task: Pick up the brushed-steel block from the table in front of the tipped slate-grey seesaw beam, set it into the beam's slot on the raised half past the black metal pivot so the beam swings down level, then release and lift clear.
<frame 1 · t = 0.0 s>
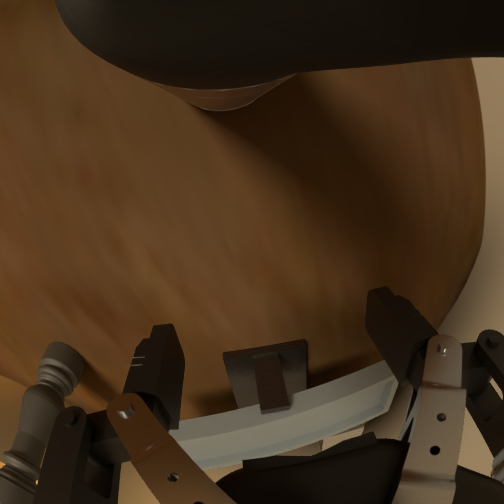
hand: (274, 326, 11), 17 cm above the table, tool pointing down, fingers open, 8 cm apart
beam: (279, 428, 29), point 9 cm above the table, hinge at -8.0°
candle holder: (66, 356, 34), on the table
pivot stand: (268, 376, 37), on the table
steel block: (328, 402, 42), on the table
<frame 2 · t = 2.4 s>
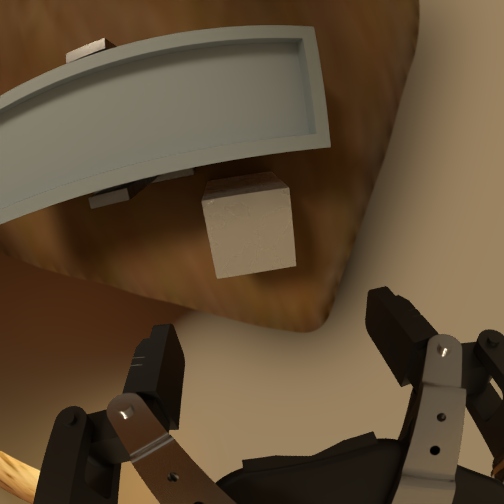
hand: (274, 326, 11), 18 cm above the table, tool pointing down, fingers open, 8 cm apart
beam: (99, 120, 16), point 9 cm above the table, hinge at -8.0°
pivot stand: (133, 122, 24), on the table
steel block: (243, 206, 28), on the table
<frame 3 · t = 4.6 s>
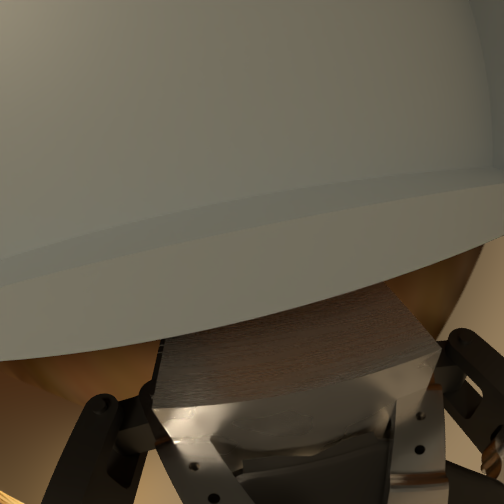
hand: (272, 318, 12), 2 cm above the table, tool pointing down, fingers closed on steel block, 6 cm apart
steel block: (267, 297, 13), on the table, touching gripper
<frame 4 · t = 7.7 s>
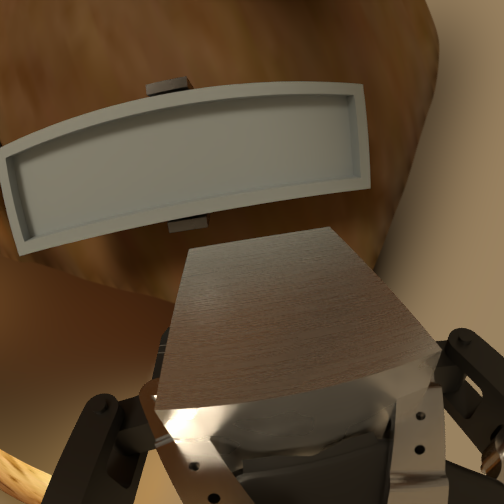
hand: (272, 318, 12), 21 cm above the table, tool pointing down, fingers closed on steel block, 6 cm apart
beam: (179, 154, 20), point 9 cm above the table, hinge at -8.0°
pivot stand: (190, 150, 28), on the table
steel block: (268, 298, 13), point 19 cm above the table, touching gripper
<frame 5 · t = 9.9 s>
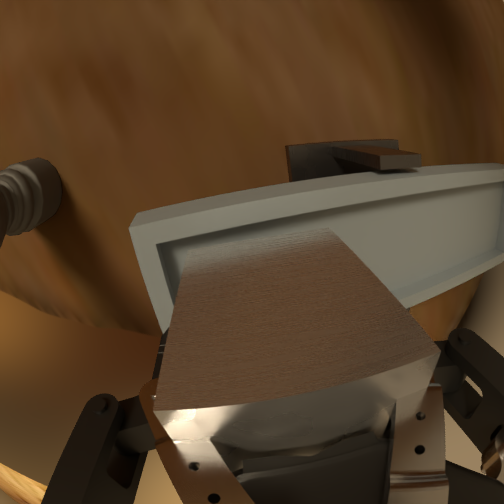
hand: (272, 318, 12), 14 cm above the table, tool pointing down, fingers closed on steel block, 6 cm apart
beam: (398, 242, 17), point 9 cm above the table, hinge at -8.0°
candle holder: (38, 189, 22), on the table
pivot stand: (346, 207, 25), on the table
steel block: (267, 298, 13), point 12 cm above the table, touching gripper
when the fingers open (13 cm above the table, at t = 11.1 s): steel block drops 2 cm, resting on beam.
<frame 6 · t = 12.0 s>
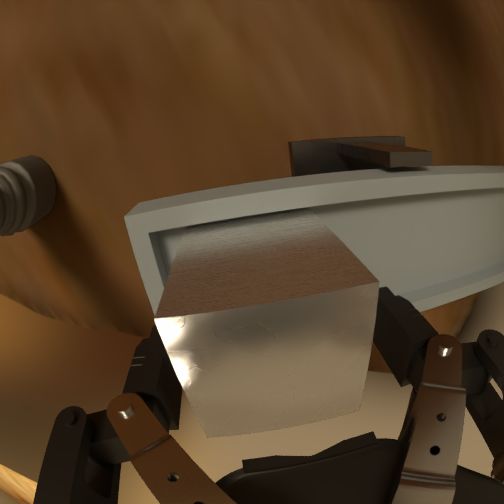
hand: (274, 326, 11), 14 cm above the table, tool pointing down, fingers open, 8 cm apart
beam: (404, 244, 16), point 9 cm above the table, hinge at 0.2°, touching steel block
candle holder: (32, 188, 21), on the table
pivot stand: (351, 207, 24), on the table
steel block: (254, 267, 16), point 9 cm above the table, touching beam
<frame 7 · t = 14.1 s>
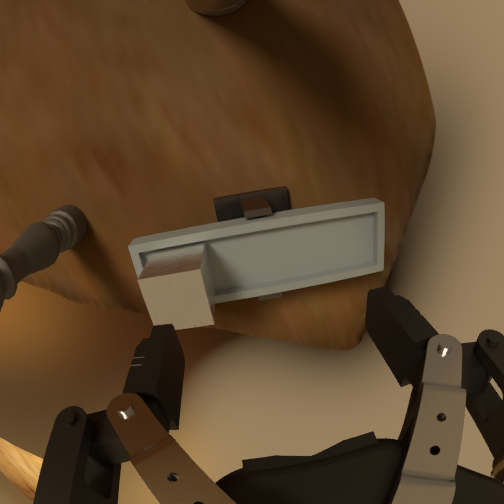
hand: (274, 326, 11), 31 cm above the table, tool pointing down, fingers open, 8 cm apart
beam: (263, 255, 34), point 9 cm above the table, hinge at 0.2°, touching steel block
candle holder: (71, 223, 39), on the table
pivot stand: (256, 232, 42), on the table
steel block: (185, 267, 34), point 9 cm above the table, touching beam
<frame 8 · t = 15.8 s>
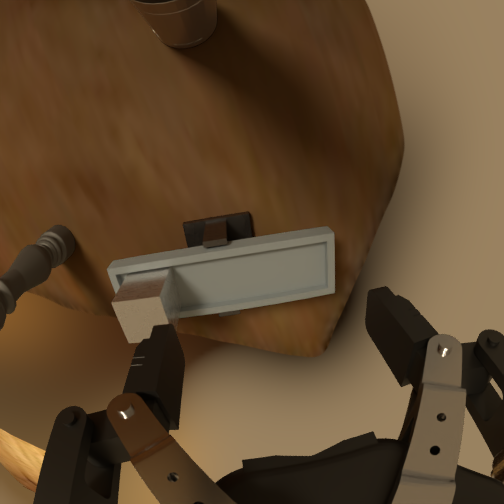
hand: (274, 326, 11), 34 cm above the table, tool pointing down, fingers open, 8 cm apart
beam: (222, 278, 39), point 9 cm above the table, hinge at 0.2°, touching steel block
candle holder: (61, 241, 43), on the table
pivot stand: (222, 252, 47), on the table
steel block: (155, 286, 39), point 9 cm above the table, touching beam
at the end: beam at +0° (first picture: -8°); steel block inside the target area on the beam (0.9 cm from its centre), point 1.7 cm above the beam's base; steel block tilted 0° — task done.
